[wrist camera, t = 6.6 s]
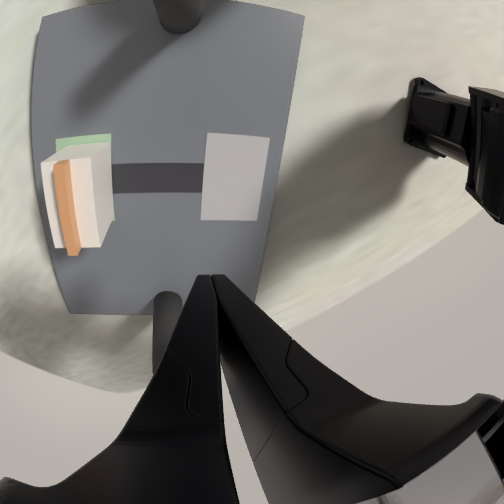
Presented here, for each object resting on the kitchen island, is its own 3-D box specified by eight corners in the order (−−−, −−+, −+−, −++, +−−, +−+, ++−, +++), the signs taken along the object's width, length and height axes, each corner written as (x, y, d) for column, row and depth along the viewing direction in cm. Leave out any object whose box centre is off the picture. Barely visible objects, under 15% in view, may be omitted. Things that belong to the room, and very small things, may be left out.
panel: (297, 19, 13) (305, 15, 12) (249, 301, 26) (252, 310, 25) (49, 19, 9) (42, 16, 8) (72, 304, 21) (69, 313, 20)
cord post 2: (181, 290, 22) (187, 362, 16) (182, 311, 23) (189, 381, 17) (152, 291, 21) (150, 363, 15) (155, 312, 22) (155, 382, 17)
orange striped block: (110, 141, 14) (86, 161, 10) (114, 215, 17) (97, 255, 13) (68, 145, 13) (33, 167, 9) (75, 216, 16) (50, 255, 12)
